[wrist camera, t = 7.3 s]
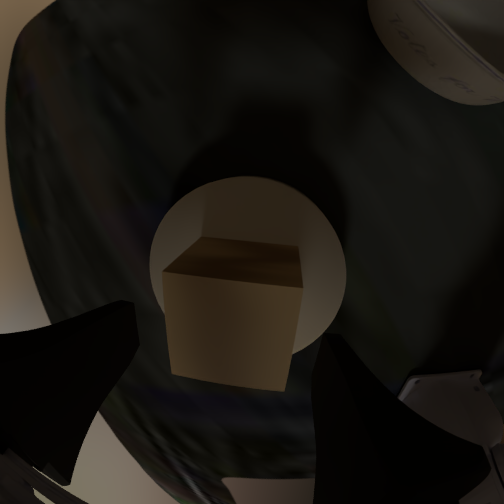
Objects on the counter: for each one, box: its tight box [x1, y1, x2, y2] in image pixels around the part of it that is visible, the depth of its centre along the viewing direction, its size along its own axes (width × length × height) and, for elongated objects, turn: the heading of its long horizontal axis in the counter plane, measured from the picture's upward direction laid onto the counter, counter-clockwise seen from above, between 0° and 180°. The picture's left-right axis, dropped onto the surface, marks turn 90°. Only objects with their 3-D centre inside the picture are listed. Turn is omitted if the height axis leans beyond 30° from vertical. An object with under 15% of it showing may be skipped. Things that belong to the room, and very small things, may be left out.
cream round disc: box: [150, 176, 346, 354], centre depth 16 cm, size 11×11×3 cm
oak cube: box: [162, 237, 303, 391], centre depth 12 cm, size 5×5×5 cm
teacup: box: [367, 0, 504, 105], centre depth 7 cm, size 14×11×8 cm
